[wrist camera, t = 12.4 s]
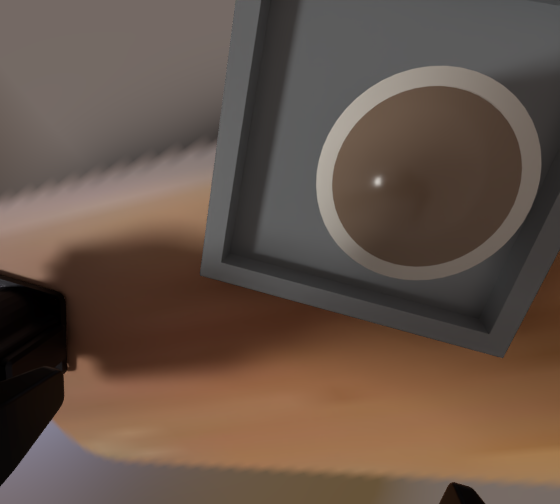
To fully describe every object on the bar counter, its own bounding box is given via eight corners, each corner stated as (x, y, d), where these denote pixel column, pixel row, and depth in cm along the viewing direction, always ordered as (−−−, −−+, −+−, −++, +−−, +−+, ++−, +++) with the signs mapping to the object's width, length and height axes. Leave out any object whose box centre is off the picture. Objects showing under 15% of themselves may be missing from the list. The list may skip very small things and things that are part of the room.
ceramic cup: (320, 199, 17) (296, 254, 9) (347, 86, 15) (345, 45, 8) (425, 223, 16) (487, 302, 9) (466, 110, 15) (587, 90, 7)
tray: (213, 261, 20) (199, 275, 18) (261, -68, 14) (248, -98, 13) (487, 334, 18) (502, 358, 16) (653, -6, 13) (705, -29, 11)
